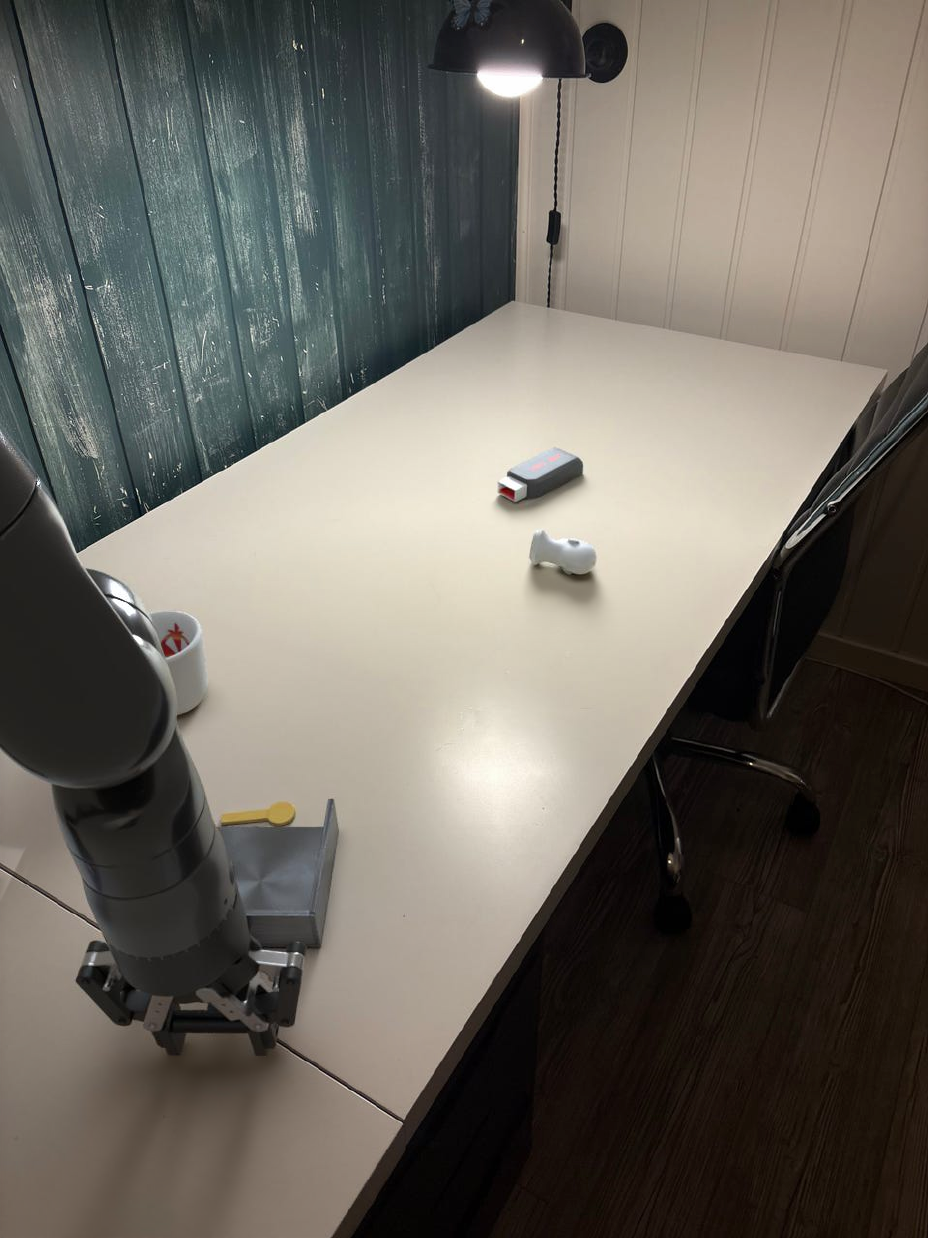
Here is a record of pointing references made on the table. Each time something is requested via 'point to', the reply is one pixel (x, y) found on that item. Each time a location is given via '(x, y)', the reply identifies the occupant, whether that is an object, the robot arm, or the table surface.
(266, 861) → the metal dustpan with handle
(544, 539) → the smooth white sculpture
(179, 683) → the cup
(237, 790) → the table surface
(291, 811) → the yellow spoon
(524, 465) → the usb drive
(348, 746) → the table surface
